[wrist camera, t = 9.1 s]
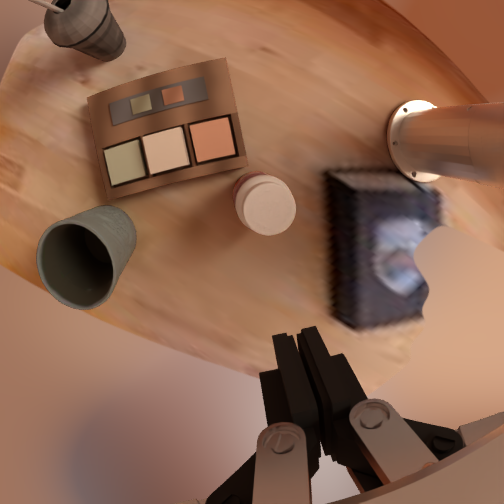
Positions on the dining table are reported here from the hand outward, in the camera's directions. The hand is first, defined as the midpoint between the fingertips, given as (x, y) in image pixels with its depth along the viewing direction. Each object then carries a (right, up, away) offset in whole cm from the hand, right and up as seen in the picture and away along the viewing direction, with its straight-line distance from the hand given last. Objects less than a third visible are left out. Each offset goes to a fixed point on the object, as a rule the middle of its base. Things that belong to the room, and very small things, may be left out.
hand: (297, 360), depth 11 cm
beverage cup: (-21, +32, +20) cm, 43 cm away
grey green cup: (-21, +6, +29) cm, 36 cm away
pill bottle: (-1, +12, +29) cm, 31 cm away
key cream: (-12, +16, +23) cm, 31 cm away
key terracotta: (-7, +18, +25) cm, 31 cm away
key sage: (-17, +16, +24) cm, 34 cm away
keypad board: (-13, +20, +25) cm, 34 cm away
